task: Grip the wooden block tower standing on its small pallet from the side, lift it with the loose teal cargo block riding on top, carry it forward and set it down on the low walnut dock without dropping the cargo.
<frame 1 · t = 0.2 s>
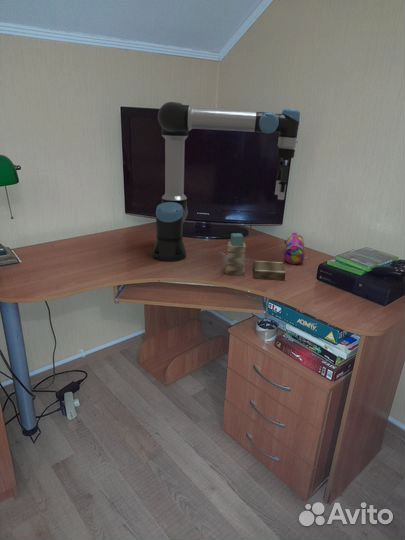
hand: (279, 197, 174), 27 cm above the table, fingers open, 13 cm apart
wooden block tower: (234, 271, 161), on the table, touching cargo
cargo: (234, 272, 161), resting on wooden block tower
pencil case: (293, 257, 180), on the table
dock: (268, 273, 160), on the table
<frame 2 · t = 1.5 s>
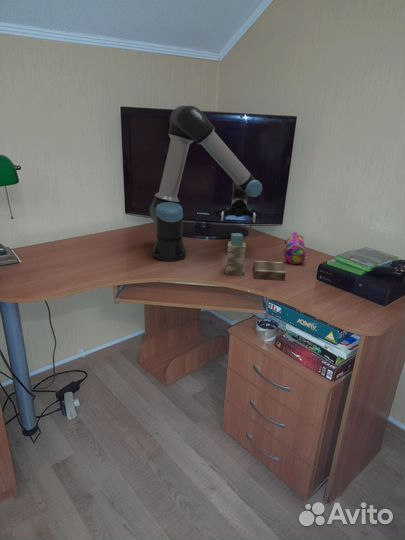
hand: (238, 218, 162), 20 cm above the table, fingers open, 13 cm apart
nothing on the table moved.
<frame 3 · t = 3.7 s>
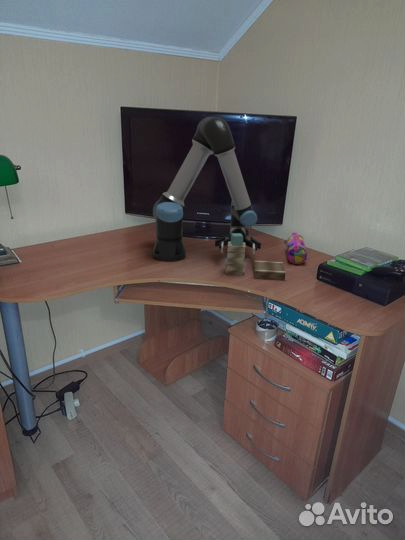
hand: (238, 250, 164), 7 cm above the table, fingers open, 13 cm apart
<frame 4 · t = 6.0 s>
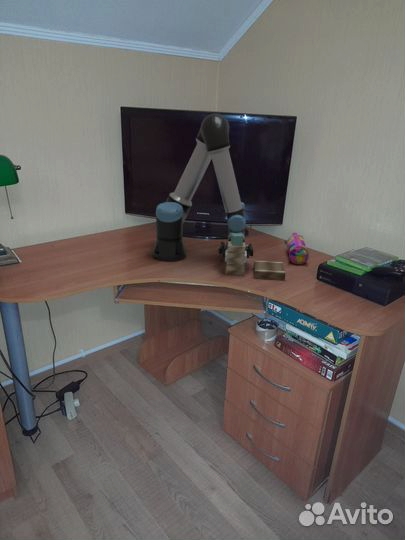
hand: (235, 258, 154), 8 cm above the table, fingers closed on wooden block tower, 7 cm apart
wooden block tower: (234, 271, 161), on the table, touching cargo, gripper
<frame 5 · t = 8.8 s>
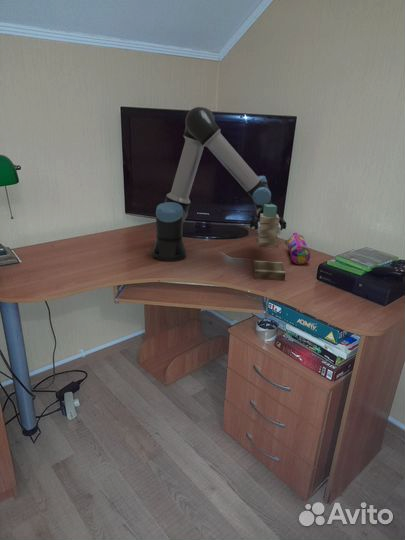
hand: (269, 230, 148), 20 cm above the table, fingers closed on wooden block tower, 7 cm apart
wooden block tower: (266, 244, 155), point 12 cm above the table, touching cargo, gripper
cargo: (266, 245, 156), point 12 cm above the table, touching wooden block tower
when the fingers open (11 cm above the table, at t = 11.3 s): wooden block tower stays where it is, point 3 cm above the table.
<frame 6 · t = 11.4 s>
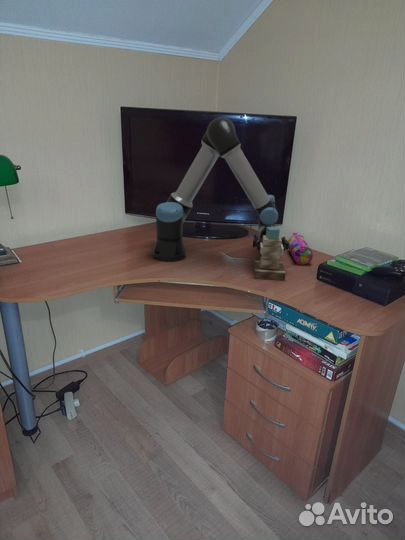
hand: (272, 251, 151), 11 cm above the table, fingers open, 7 cm apart
wooden block tower: (269, 265, 159), point 3 cm above the table
cargo: (269, 266, 159), point 3 cm above the table
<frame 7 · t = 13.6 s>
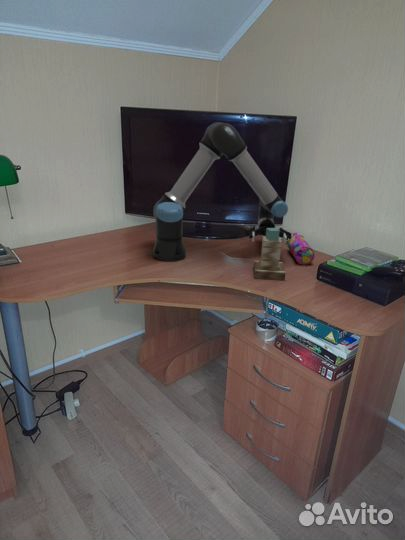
hand: (269, 239, 165), 12 cm above the table, fingers open, 13 cm apart
wooden block tower: (269, 266, 159), point 3 cm above the table, touching cargo, dock
cargo: (269, 267, 159), point 3 cm above the table, touching wooden block tower
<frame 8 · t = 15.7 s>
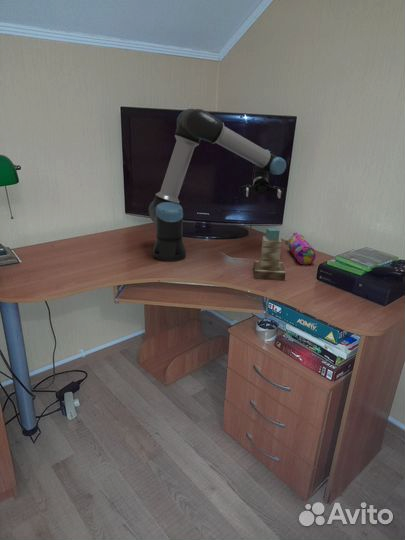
hand: (263, 194, 163), 30 cm above the table, fingers open, 13 cm apart
at the end: wooden block tower inside the target area on the dock (0.0 cm from its centre), point 3.0 cm above the dock's base; cargo 0.0 cm from the wooden block tower (horizontally) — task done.
